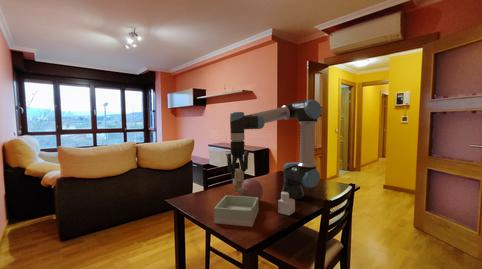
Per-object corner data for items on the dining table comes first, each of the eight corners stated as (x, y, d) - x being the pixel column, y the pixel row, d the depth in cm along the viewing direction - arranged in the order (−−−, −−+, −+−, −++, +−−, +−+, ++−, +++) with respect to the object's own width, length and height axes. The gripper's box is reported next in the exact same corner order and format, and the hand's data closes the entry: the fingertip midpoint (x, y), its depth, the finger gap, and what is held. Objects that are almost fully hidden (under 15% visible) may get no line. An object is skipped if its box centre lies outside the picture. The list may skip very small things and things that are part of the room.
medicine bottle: (283, 208, 134) (283, 189, 133) (295, 211, 130) (294, 191, 129) (277, 212, 129) (277, 192, 128) (289, 216, 124) (289, 194, 123)
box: (258, 210, 132) (258, 197, 131) (252, 226, 113) (252, 211, 112) (225, 208, 137) (225, 195, 136) (214, 223, 117) (214, 208, 117)
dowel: (243, 191, 123) (243, 169, 122) (237, 192, 120) (236, 170, 120) (239, 189, 126) (239, 168, 125) (233, 190, 124) (232, 169, 123)
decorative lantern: (228, 205, 142) (228, 181, 140) (249, 196, 156) (249, 174, 155) (247, 211, 131) (246, 185, 130) (267, 201, 146) (267, 178, 145)
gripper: (246, 139, 129) (247, 179, 131) (220, 141, 120) (221, 184, 122) (254, 140, 123) (254, 182, 124) (227, 142, 114) (227, 187, 115)
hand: (238, 183), depth 123 cm, fingers closed on dowel, 4 cm apart
